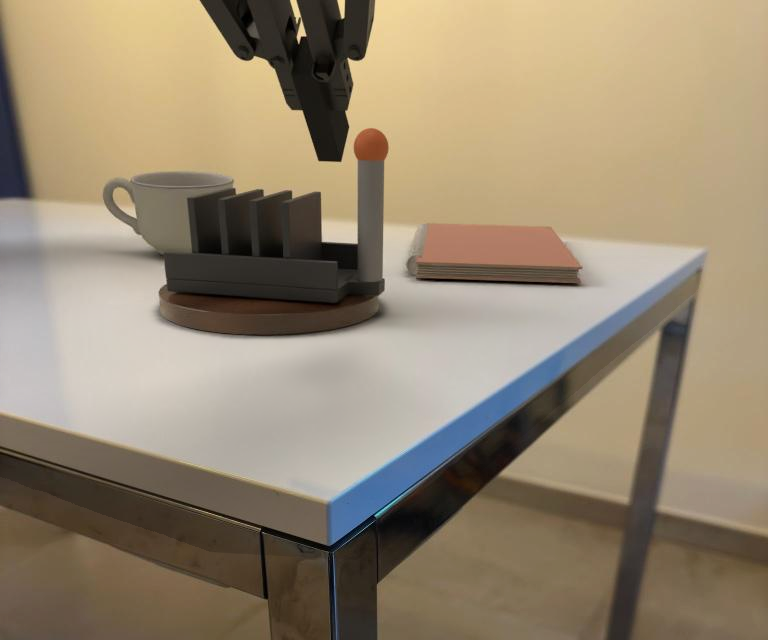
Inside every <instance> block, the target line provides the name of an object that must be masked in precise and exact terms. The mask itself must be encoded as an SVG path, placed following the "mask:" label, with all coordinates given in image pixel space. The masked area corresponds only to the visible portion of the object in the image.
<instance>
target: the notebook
mask: <svg viewBox="0 0 768 640" xmlns="http://www.w3.org/2000/svg"><path fill="white" fill-rule="evenodd" d="M405 265H406V269H407V271H408V272H409V273H410V274H411V275H413V276H415V278H416V279H421V278H422V279H443V280H447V279H448V280H473V281H476V280H477V281H503V282H504V281H505V282H530V283H531V282H532V283H533V282H535V283H561V284H562V283H564V284H566V283H567V284H581V279H580V278H579V273H580V272H579V270H583V266H582V264H581V263H580V262H579V260H577V258H576V257H575V255H574V254H573V253H572V252H571V250H570V249H569V248H568V247H567V245H566V244H565V242H564V241H563V240H562V239H561V238H560V236H559V235H558V234H557V233H556V232H555V230H554V229H553V228H552V226H542V225H541V226H539V225H538V226H537V225H512V224H511V225H508V224H500V225H499V224H476V223H475V224H473V223H472V224H470V223H440V222H439V223H437V222H425V223H423V222H422V223H421V224H418V225H417V226H416V229H415V232H414V236H413V239H412V242H411V246H410V249H409V253H408V256H407V259H406V263H405Z"/></svg>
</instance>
